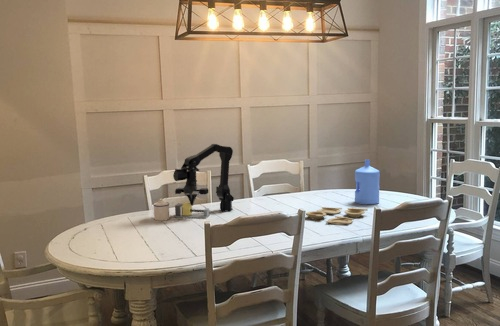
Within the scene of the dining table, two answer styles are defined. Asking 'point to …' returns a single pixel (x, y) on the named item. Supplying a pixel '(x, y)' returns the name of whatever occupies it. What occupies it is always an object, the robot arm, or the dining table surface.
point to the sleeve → (187, 208)
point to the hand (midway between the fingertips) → (192, 205)
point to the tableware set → (338, 220)
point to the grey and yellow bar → (180, 211)
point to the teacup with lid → (161, 210)
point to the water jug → (367, 184)
